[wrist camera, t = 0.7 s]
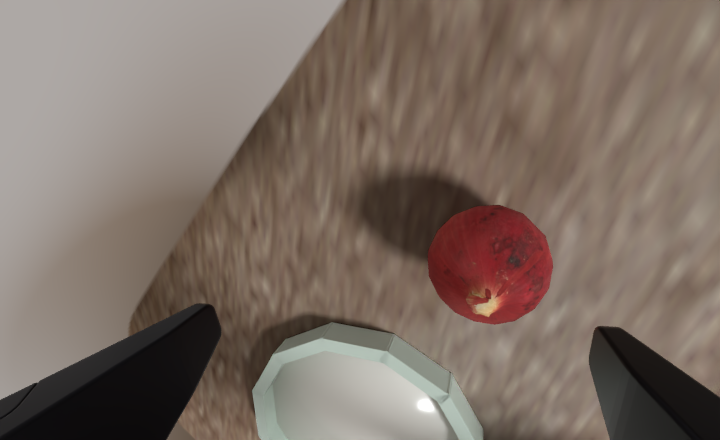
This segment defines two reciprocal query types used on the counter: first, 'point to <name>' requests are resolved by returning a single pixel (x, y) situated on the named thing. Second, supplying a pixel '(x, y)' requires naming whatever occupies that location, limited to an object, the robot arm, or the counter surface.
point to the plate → (358, 390)
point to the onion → (490, 264)
